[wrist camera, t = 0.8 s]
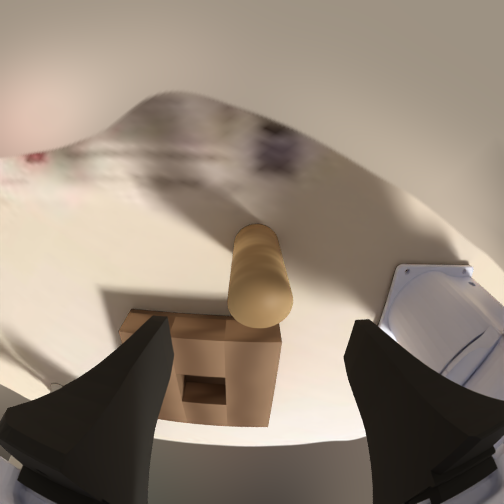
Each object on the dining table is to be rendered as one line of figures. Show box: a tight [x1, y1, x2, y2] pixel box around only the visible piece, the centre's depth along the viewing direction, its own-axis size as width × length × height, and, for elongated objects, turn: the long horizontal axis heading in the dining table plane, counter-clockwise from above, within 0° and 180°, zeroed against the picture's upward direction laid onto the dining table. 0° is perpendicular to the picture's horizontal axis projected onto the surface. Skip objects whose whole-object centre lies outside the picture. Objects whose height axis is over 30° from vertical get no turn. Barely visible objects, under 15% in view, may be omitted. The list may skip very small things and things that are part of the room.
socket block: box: [119, 309, 282, 427], centre depth 22 cm, size 12×12×3 cm
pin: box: [227, 224, 293, 328], centre depth 16 cm, size 3×3×7 cm
